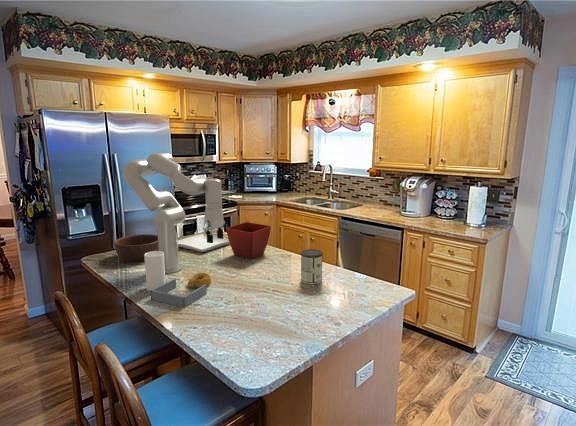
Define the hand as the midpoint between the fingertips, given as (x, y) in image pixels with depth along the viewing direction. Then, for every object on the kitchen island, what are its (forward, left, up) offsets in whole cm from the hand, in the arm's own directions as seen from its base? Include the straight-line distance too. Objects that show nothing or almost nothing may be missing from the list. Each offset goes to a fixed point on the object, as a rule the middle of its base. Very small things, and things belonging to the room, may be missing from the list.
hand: (215, 240), depth 178 cm
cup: (-16, -24, -18) cm, 34 cm away
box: (0, -27, -18) cm, 32 cm away
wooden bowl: (-57, +6, -18) cm, 60 cm away
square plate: (-38, +40, -19) cm, 58 cm away
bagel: (0, -13, -18) cm, 23 cm away
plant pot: (-2, +36, -18) cm, 40 cm away
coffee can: (+45, +14, -18) cm, 51 cm away
